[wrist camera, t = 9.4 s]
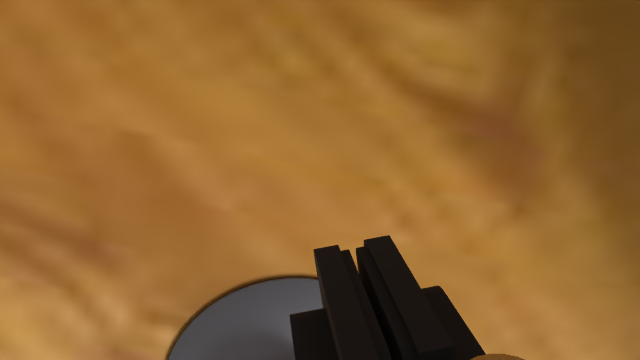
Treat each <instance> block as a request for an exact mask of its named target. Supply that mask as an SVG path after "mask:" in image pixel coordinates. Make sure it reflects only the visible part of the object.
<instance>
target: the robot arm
mask: <svg viewBox="0 0 640 360" xmlns="http://www.w3.org/2000/svg"><path fill="white" fill-rule="evenodd" d="M356 256H357V264H358V271H359V273H358V271H357V268H356V266H355V263H354V261H353V258H352V256H351V253H350V251H349V250H343V251H340V248H339V246H338V245H334V246H329V247H324V248H318V249H314V257H315V263H316V269H317V276H318V282H319V288H320V294H321V300H322V306H323V308H321V309H316V310H311V311H305V312H300V313H295V314H290V324H291V332H292V339H293V347H294V355H295V360H524V359H522V358H519V357H516V356H511V355H506V354H485V352H484V351H483V349H482V348H481V346H480V345H479V343H478V342H477V340H476V339H475V337H474V336H473V334H472V333H471V331H470V330H469V328H468V327H467V325H466V324H465V322H464V321H463V319H462V318H461V316H460V315H459V313H458V312H457V310H456V309H455V307H454V306H453V304H452V303H451V301H450V300H449V298H448V297H447V295H446V294H445V292H444V291H443V289H442V288H441V287H440V286H433V287H428V288H423V289H421V288H420V286H419V285H418V283H417V281H416V280H415V278H414V276H413V274H412V273H411V271H410V269H409V268H408V266H407V264H406V263H405V261H404V259H403V258H402V256H401V254H400V253H399V251H398V249H397V247H396V246H395V244H394V242H393V241H392V239H391V237H390V236H389V235H388V236H382V237H377V238H372V239H366V240H364V247H359V248H356Z"/></svg>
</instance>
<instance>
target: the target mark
mask: <svg viewBox="0 0 640 360" xmlns="http://www.w3.org/2000/svg"><path fill="white" fill-rule="evenodd" d="M321 308H323V306H322V300H321V294H320V288H319V282H318V279H312V278H282V279H274V280H268V281H264V282H260V283H256V284H252V285H249V286H247V287H244V288H241V289H239V290H236V291H234V292H232V293H230V294H228V295H226V296H224V297H222V298H220V299H219V300H218V301H216V302H215V303H213V304H212V305H210V306H209V307H207V308H206V309H205V310H204V311H203V312H201V313H200V314H199V315H198V316H197V317H196V318H195V319H194V320H193V321H192V322H191V323H190V324H189V326H188V327H187V328H186V329H185V330H184V331H183V333H182V334H181V336H180V338H179V339H178V341H177V342H176V344H175V346H174V348H173V350H172V352H171V355H170V357H169V360H295V355H294V347H293V339H292V332H291V324H290V314H295V313H300V312H305V311H311V310H316V309H321Z"/></svg>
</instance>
